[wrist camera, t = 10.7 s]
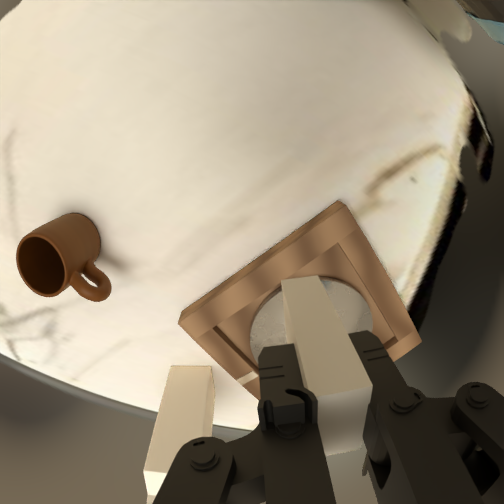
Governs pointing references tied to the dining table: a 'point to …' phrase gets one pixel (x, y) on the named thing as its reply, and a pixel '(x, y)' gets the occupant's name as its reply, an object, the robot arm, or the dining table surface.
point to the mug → (63, 258)
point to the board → (296, 266)
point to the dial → (273, 322)
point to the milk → (179, 420)
